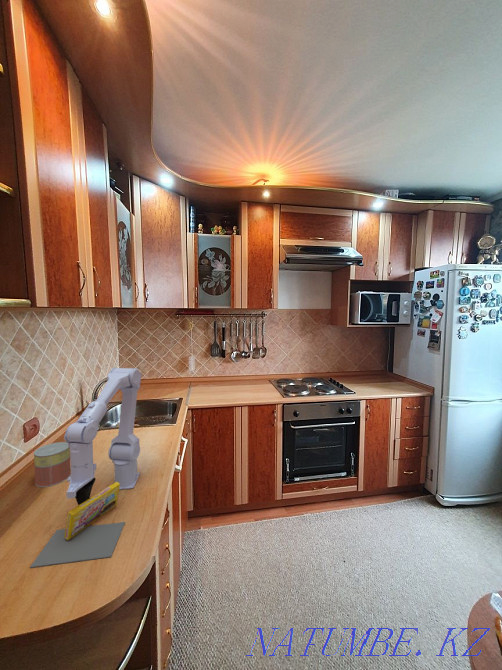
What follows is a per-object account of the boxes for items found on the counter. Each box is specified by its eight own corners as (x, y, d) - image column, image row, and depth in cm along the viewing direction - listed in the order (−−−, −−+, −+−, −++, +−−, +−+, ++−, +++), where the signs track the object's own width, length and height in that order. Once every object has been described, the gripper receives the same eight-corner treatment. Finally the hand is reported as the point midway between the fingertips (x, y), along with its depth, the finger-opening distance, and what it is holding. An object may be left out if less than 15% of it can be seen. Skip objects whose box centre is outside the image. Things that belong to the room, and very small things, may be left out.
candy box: (68, 542, 74) (71, 514, 73) (63, 538, 75) (66, 511, 74) (117, 505, 89) (120, 483, 88) (112, 503, 90) (115, 480, 89)
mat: (56, 530, 78) (56, 529, 78) (125, 522, 81) (125, 521, 81) (29, 568, 66) (29, 567, 66) (111, 557, 69) (111, 556, 69)
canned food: (61, 467, 112) (60, 439, 111) (76, 474, 107) (75, 445, 106) (29, 481, 102) (27, 451, 101) (44, 490, 97) (42, 458, 96)
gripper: (79, 451, 86) (80, 491, 87) (53, 477, 72) (55, 525, 72) (102, 449, 87) (103, 489, 88) (81, 475, 73) (83, 522, 74)
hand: (83, 505), depth 80 cm, fingers closed
